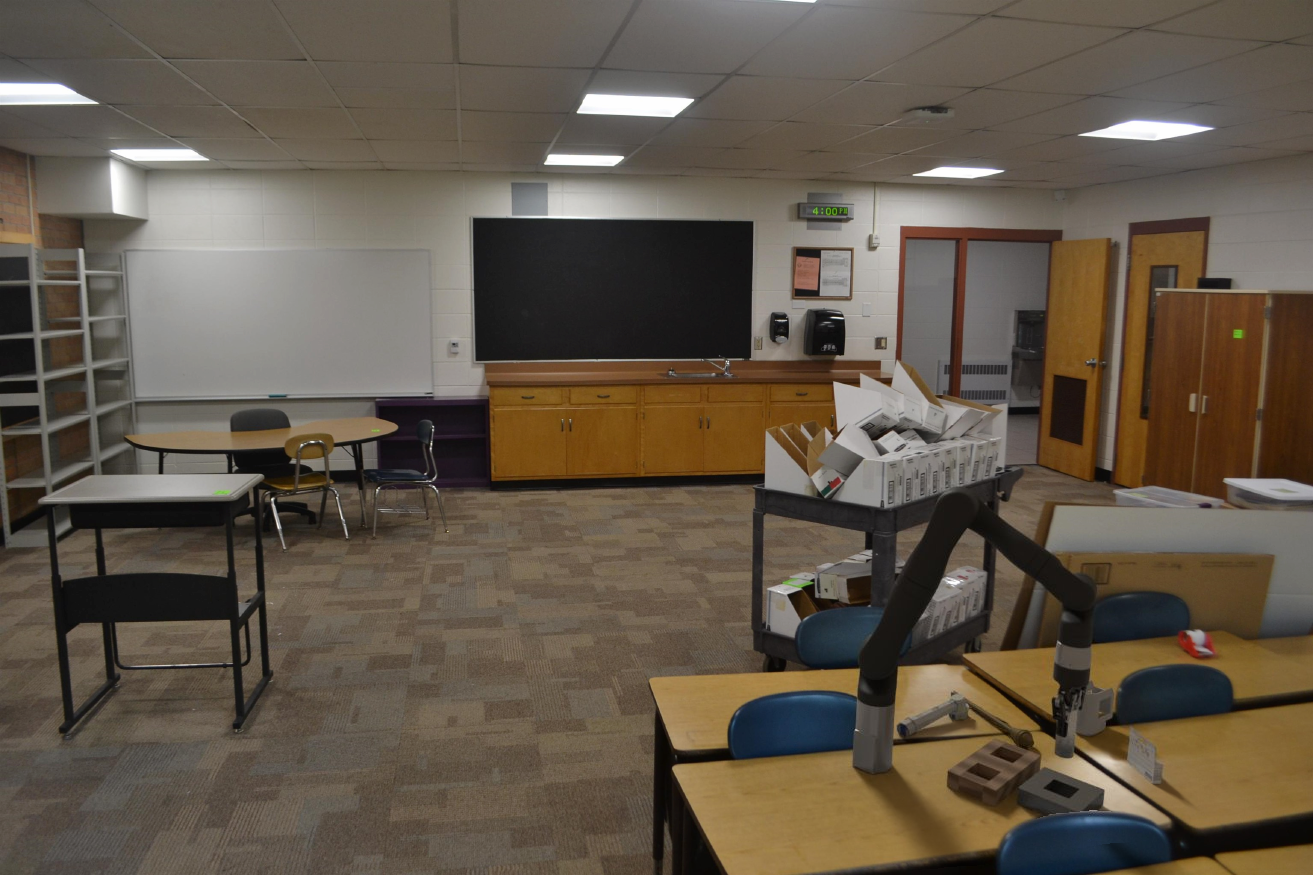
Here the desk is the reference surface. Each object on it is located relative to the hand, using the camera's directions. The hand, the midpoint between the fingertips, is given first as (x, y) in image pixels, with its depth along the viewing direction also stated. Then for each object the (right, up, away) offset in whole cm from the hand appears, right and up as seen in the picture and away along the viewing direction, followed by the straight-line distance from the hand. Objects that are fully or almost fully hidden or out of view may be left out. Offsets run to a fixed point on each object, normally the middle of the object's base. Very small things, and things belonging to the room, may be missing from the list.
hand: (1065, 732), depth 210 cm
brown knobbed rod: (-1, -12, +44) cm, 46 cm away
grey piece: (-18, -12, +42) cm, 47 cm away
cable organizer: (+25, -12, +40) cm, 49 cm away
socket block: (0, -18, +3) cm, 18 cm away
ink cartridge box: (+27, -16, +18) cm, 36 cm away
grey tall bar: (0, -5, +1) cm, 5 cm away
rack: (-11, -16, +14) cm, 24 cm away
